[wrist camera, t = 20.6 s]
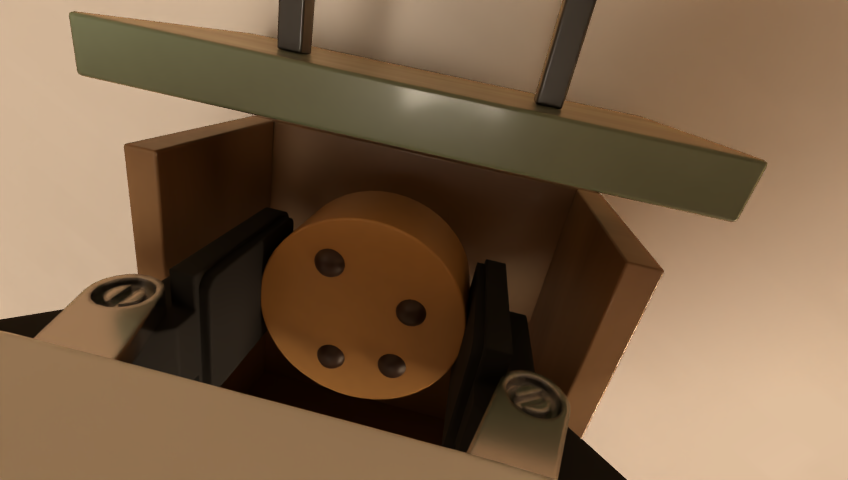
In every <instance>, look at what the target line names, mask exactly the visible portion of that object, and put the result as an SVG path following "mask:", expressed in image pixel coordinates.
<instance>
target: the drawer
mask: <svg viewBox="0 0 848 480" xmlns="http://www.w3.org/2000/svg"><path fill="white" fill-rule="evenodd" d="M596 1H597V0H562V3H561V7H560V10H559V14H558V17H557V21H556V24H555V28H554V31H553V35H552V38H551V42H550V45H549V49H548V52H547V56H546V59H545V63H544V66H543V70H542V73H541V77H540V80H539V84H538V87H537V91H536V94H534V93H529V92H524V91H519V90H515V89H510V88H505V87H501V86H496V85H491V84H487V83H482V82H477V81H472V80H468V79H463V78H458V77H454V76H449V75H444V74H440V73H435V72H430V71H426V70H421V69H416V68H411V67H407V66H402V65H397V64H393V63H388V62H383V61H379V60H374V59H369V58H364V57H360V56H355V55H350V54H346V53H341V52H336V51H332V50H327V49H322V48H317V47H313V46H311V45H312V31H313V16H314V2H315V0H279V16H278V39H275V38H270V37H266V36H261V35H256V34H251V33H243V32H235V31H227V30H219V29H211V28H203V27H195V26H187V25H179V24H171V23H163V22H155V21H147V20H139V19H131V18H124V17H116V16H108V15H100V14H92V13H84V12H76V11H74V12H70V13H69V19H70V26H71V32H72V39H73V46H74V53H75V60H76V66H77V71H78V73H79V74H80V75H82V76H86V77H90V78H95V79H99V80H104V81H108V82H112V83H117V84H121V85H126V86H130V87H135V88H139V89H143V90H148V91H152V92H157V93H161V94H166V95H170V96H175V97H179V98H183V99H188V100H192V101H197V102H201V103H206V104H210V105H214V106H219V107H223V108H228V109H232V110H237V111H241V112H245V113H250V114H254V115H256V116H251V117H246V118H242V119H237V120H232V121H228V122H223V123H219V124H214V125H209V126H205V127H200V128H196V129H191V130H187V131H182V132H177V133H173V134H168V135H164V136H159V137H155V138H150V139H145V140H141V141H136V142H132V143H127V144H125V145H124V152H125V161H126V170H127V179H128V188H129V197H130V206H131V215H132V224H133V232H134V241H135V250H136V259H137V268H138V274H142V275H148V276H152V277H155V278H157V279H159V280H160V281H162V280H164V279H165V278H167V277H168V276H170V273H169V269H170V268H172V267H173V266H175V265H177V264H178V263H180V262H181V261H183V260H184V259H186V258H188V257H189V256H191V255H192V254H194V253H195V252H197V251H198V250H200V249H202V248H203V247H205V246H206V245H208V244H209V243H211V242H212V241H214V240H216V239H217V238H219V237H220V236H222V235H223V234H225V233H227V232H228V231H230V230H231V229H233V228H234V227H236V226H237V225H239V224H241V223H242V222H244V221H245V220H247V219H248V218H250V217H252V216H253V215H255V214H256V213H258V212H259V211H261V210H262V209H264V208H266V207H269V208H273V209H277V210H281V211H285V212H287V213H288V216H289V218H292V219H293V221H294V227H293V231H295V230H296V229H297V228H298V227H299V226H301V225H302V224H303V223H304V222H305V221H306V220H308V219H309V218H310V217H311V216H312V215H313V214H315V213H316V212H317V211H318V210H319V209H321V208H322V207H323V206H325V205H326V204H328V203H329V202H331V201H333V200H335V199H337V198H339V197H342V196H344V195H347V194H351V193H356V192H362V191H384V192H390V193H396V194H399V195H402V196H406V197H408V198H411V199H413V200H415V201H418V202H420V203H421V204H423V205H425V206H426V207H428V208H430V209H431V210H432V211H434V212H435V213H436V214H437V215H439V216H440V217H441V218H442V219H443V220H444V221H445V222H446V223H447V224H448V225H449V226H450V228H451V229H452V230H453V231H454V233H455V234H456V235H457V237H458V239H459V241H460V242H461V244H462V246H463V249H464V251H465V253H466V256H467V260H468V264H469V269H470V287H471V283H472V279H473V276H474V272H475V268H476V265H477V263H478V262H479V263H483V264H484V263H485V260H486V259H488V260H492V261H497V262H501V263H505V264H506V272H507V285H508V297H509V310H510V311H511V312H515V313H519V314H523V315H526V317H527V322H528V329H529V336H530V343H531V350H532V356H533V363H534V370H535V373H537V374H540V375H542V376H544V377H546V378H548V379H550V380H551V381H552V382H554V383H555V384H556V385H557V386H558V387H560V389H561V390H562V391H563V392H564V393H565V395H566V396H567V398H568V401H569V403H570V412H571V413H570V418H569V423H568V427H569V428H570V429H571V430H572V431H573V432H575V433H576V434H577V435H578V436H579V437H580V438H581V439H582V437H583V435H584V433H585V431H586V429H587V427H588V425H589V423H590V421H591V419H592V417H593V415H594V413H595V411H596V409H597V407H598V405H599V403H600V401H601V399H602V397H603V395H604V393H605V391H606V389H607V387H608V385H609V383H610V380H611V378H612V376H613V374H614V372H615V370H616V368H617V366H618V364H619V362H620V360H621V358H622V356H623V354H624V352H625V350H626V348H627V346H628V344H629V342H630V340H631V338H632V336H633V334H634V332H635V330H636V328H637V326H638V324H639V322H640V320H641V318H642V316H643V314H644V312H645V310H646V307H647V305H648V303H649V301H650V299H651V297H652V295H653V293H654V291H655V289H656V287H657V285H658V283H659V281H660V279H661V277H662V275H663V273H664V270H663V269H662V268H661V266H660V265H659V264H658V263H657V262H656V260H655V259H654V258H653V257H652V256H651V254H650V253H649V252H648V251H647V250H646V248H645V247H644V246H643V245H642V244H641V242H640V241H639V240H638V239H637V238H636V236H635V235H634V234H633V233H632V232H631V230H630V229H629V228H628V227H627V225H626V224H625V223H624V222H623V221H622V219H621V218H620V217H619V216H618V215H617V213H616V212H615V211H614V210H613V209H612V207H611V206H610V205H609V204H608V203H607V201H606V200H605V199H604V198H603V197H602V195H601V194H600V193H605V194H609V195H614V196H618V197H622V198H627V199H631V200H636V201H640V202H645V203H649V204H653V205H658V206H662V207H667V208H671V209H676V210H680V211H685V212H689V213H693V214H698V215H702V216H707V217H711V218H716V219H720V220H724V221H729V222H736V221H737V220H738V218H739V217H740V215H741V213H742V211H743V209H744V207H745V205H746V204H747V202H748V200H749V198H750V196H751V194H752V193H753V191H754V189H755V187H756V185H757V183H758V182H759V180H760V178H761V176H762V174H763V172H764V171H765V169H766V167H767V162H766V161H765V160H763V159H760V158H757V157H754V156H752V155H749V154H746V153H743V152H740V151H737V150H735V149H732V148H729V147H726V146H723V145H720V144H718V143H715V142H712V141H709V140H706V139H704V138H701V137H698V136H695V135H692V134H689V133H687V132H684V131H681V130H678V129H675V128H672V127H670V126H667V125H664V124H661V123H658V122H656V121H653V120H650V119H647V118H644V117H641V116H637V115H632V114H628V113H623V112H618V111H613V110H609V109H604V108H599V107H595V106H590V105H585V104H581V103H576V102H571V101H566V100H565V98H566V95H567V92H568V89H569V86H570V83H571V80H572V76H573V73H574V70H575V67H576V64H577V61H578V57H579V54H580V51H581V48H582V45H583V42H584V38H585V35H586V32H587V29H588V26H589V23H590V20H591V16H592V13H593V10H594V7H595V4H596ZM599 192H600V193H599ZM450 374H451V368H450V369H449V370H448V371H447V372H446V373H445V374H444V375H443V376H442V377H441V378H440V379H439V380H438V381H436V382H435V383H433V384H432V385H430V386H429V387H427V388H425V389H423V390H421V391H419V392H416V393H413V394H411V395H408V396H403V397H399V398H392V399H365V398H358V397H353V396H348V395H345V394H342V393H339V392H336V391H333V390H331V389H329V388H326V387H324V386H322V385H320V384H319V383H317V382H315V381H313V380H312V379H310V378H309V377H307V376H306V375H304V374H303V373H302V372H301V371H299V370H298V369H297V368H296V367H295V366H293V365H292V364H291V363H290V361H289V360H288V359H287V358H286V357H285V356H284V355H283V354H282V352H281V351H280V350H279V349H278V347H277V346H276V344H275V342H274V341H273V339H272V338H271V336H270V333H269V331H268V330H267V331H266V333H265V334H264V335H263V336H262V337H261V339H260V340H259V341H258V342H257V343H256V345H255V346H254V347H253V348H252V349H251V351H250V352H249V353H248V354H247V355H246V357H245V358H244V359H243V360H242V361H241V363H240V364H239V365H238V366H237V367H236V369H235V370H234V371H233V372H232V373H231V375H230V376H229V377H228V378H227V379H226V381H225V382H224V383H223V384H222V385H221V388H224V389H228V390H232V391H236V392H240V393H243V394H247V395H251V396H255V397H258V398H262V399H266V400H270V401H274V402H277V403H281V404H285V405H289V406H293V407H296V408H300V409H304V410H308V411H312V412H315V413H319V414H323V415H327V416H331V417H334V418H338V419H342V420H346V421H349V422H353V423H357V424H361V425H365V426H368V427H372V428H376V429H379V430H383V431H387V432H391V433H394V434H398V435H402V436H405V437H409V438H413V439H416V440H420V441H424V442H428V443H431V444H435V445H439V446H441V445H442V437H443V429H444V421H445V413H446V405H447V398H448V390H449V382H450Z"/></svg>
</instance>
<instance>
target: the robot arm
mask: <svg viewBox="0 0 848 480" xmlns="http://www.w3.org/2000/svg"><path fill="white" fill-rule="evenodd" d="M293 227H294V221H293V219H292V218H289V216H288V213H287V212H285V211H281V210H277V209H273V208H269V207H266V208H264V209H262V210H261V211H259V212H258V213H256V214H255V215H253V216H252V217H250V218H248V219H247V220H245V221H244V222H242V223H241V224H239V225H237V226H236V227H234V228H233V229H231V230H230V231H228V232H227V233H225V234H223V235H222V236H220V237H219V238H217V239H216V240H214V241H212V242H211V243H209V244H208V245H206V246H205V247H203V248H202V249H200V250H198V251H197V252H195V253H194V254H192V255H191V256H189V257H188V258H186V259H184V260H183V261H181V262H180V263H178V264H177V265H175V266H173V267H172V268H170V269H169V273H170V276H168V277H167V278H165V279H164V280H162V281H160V280H159V279H157V278H155V277H152V276H148V275H142V274H125V275H118V276H113V277H109V278H105V279H102V280H100V281H98V282H95V283H93V284H92V285H90V286H89V287H87V288H86V289H85V290H84V291H83V292H82V293H81V294H80V295H78V296H77V297H76V298H75V299H74V300H73V301H72V302H71V303H70V304H69V305H68V306H67V307H66V308H65V309H63V310H57V311H51V312H45V313H38V314H32V315H26V316H20V317H14V318H7V319H1V320H0V480H627V479H625V478H624V477H623V476H622V475H621V474H620V473H619V472H618V471H617V470H615V469H614V468H613V467H612V466H611V465H610V464H609V463H608V462H607V461H606V460H604V459H603V458H602V457H601V456H600V455H599V454H598V453H597V452H596V451H594V450H593V449H592V448H591V447H590V446H589V445H588V444H587V443H586V442H585V441H583V440H582V439H581V438H580V437H579V436H578V435H577V434H576V433H575V432H573V431H572V430H571V429H570V428H569V427H568V423H569V418H570V413H571V412H570V403H569V401H568V398H567V396H566V395H565V393H564V392H563V391H562V390H561V389H560V387H558V386H557V385H556V384H555V383H554V382H552V381H551V380H550V379H548V378H546V377H544V376H542V375H540V374H537V373H535V370H534V363H533V356H532V350H531V343H530V336H529V329H528V322H527V317H526V315H523V314H519V313H515V312H511V311H510V310H509V297H508V285H507V272H506V264H505V263H501V262H497V261H492V260H488V259H486V260H485V263H484V264H483V263H479V262H478V263H477V265H476V268H475V272H474V276H473V279H472V283H471V287H470V290H469V301H468V312H467V323H466V329H465V332H464V336H463V339H462V343H461V346H460V350H459V353H458V357H457V359H456V361H455V362H454V364H453V365H452V366H451V374H450V382H449V390H448V398H447V405H446V413H445V421H444V429H443V437H442V445H441V446H439V445H435V444H431V443H428V442H424V441H420V440H416V439H413V438H409V437H405V436H402V435H398V434H394V433H391V432H387V431H383V430H379V429H376V428H372V427H368V426H365V425H361V424H357V423H353V422H349V421H346V420H342V419H338V418H334V417H331V416H327V415H323V414H319V413H315V412H312V411H308V410H304V409H300V408H296V407H293V406H289V405H285V404H281V403H277V402H274V401H270V400H266V399H262V398H258V397H255V396H251V395H247V394H243V393H240V392H236V391H232V390H228V389H224V388H221V385H222V384H223V383H224V382H225V381H226V379H227V378H228V377H229V376H230V375H231V373H232V372H233V371H234V370H235V369H236V367H237V366H238V365H239V364H240V363H241V361H242V360H243V359H244V358H245V357H246V355H247V354H248V353H249V352H250V351H251V349H252V348H253V347H254V346H255V345H256V343H257V342H258V341H259V340H260V339H261V337H262V336H263V335H264V334H265V333H266V331H267V330H268V329H267V327H266V324H265V321H264V318H263V315H262V309H261V285H262V276H263V272H264V269H265V266H266V264H267V262H268V260H269V258H270V256H271V255H272V253H273V252H274V250H275V249H276V248H277V247H278V245H279V244H280V243H281V242H282V241H283V240H284V239H285V238H286V237H288V236H289V235H290V234H291V233H292V232H293Z"/></svg>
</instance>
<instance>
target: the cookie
mask: <svg viewBox="0 0 848 480" xmlns="http://www.w3.org/2000/svg"><path fill="white" fill-rule="evenodd" d="M469 290H470V269H469V264H468V260H467V256H466V253H465V251H464V249H463V246H462V244H461V242H460V241H459V239H458V237H457V235H456V234H455V233H454V231H453V230H452V229H451V228H450V226H449V225H448V224H447V223H446V222H445V221H444V220H443V219H442V218H441V217H440V216H439V215H437V214H436V213H435V212H434V211H432V210H431V209H430V208H428V207H426V206H425V205H423V204H421V203H420V202H418V201H415V200H413V199H411V198H408V197H406V196H402V195H399V194H396V193H390V192H384V191H362V192H356V193H351V194H347V195H344V196H342V197H339V198H337V199H335V200H333V201H331V202H329V203H328V204H326V205H325V206H323V207H322V208H321V209H319V210H318V211H317V212H316V213H315V214H313V215H312V216H311V217H310V218H309V219H308V220H306V221H305V222H304V223H303V224H302V225H301V226H299V227H298V228H297V229H296V230H295V231H293V232H292V233H291V234H290V235H289V236H288V237H286V238H285V239H284V240H283V241H282V242H281V243H280V244H279V245H278V247H277V248H276V249H275V250H274V252H273V253H272V255H271V256H270V258H269V260H268V262H267V264H266V266H265V269H264V272H263V276H262V285H261V309H262V315H263V318H264V321H265V324H266V327H267V329H268V331H269V333H270V336H271V338H272V339H273V341H274V342H275V344H276V346H277V347H278V349H279V350H280V351H281V352H282V354H283V355H284V356H285V357H286V358H287V359H288V360H289V361H290V363H291V364H292V365H293V366H295V367H296V368H297V369H298V370H299V371H301V372H302V373H303V374H304V375H306V376H307V377H309V378H310V379H312V380H313V381H315V382H317V383H319V384H320V385H322V386H324V387H326V388H329V389H331V390H333V391H336V392H339V393H342V394H345V395H348V396H353V397H358V398H365V399H392V398H399V397H403V396H408V395H411V394H413V393H416V392H419V391H421V390H423V389H425V388H427V387H429V386H430V385H432V384H433V383H435V382H436V381H438V380H439V379H440V378H441V377H442V376H443V375H444V374H445V373H446V372H447V371H448V370H449V369H450V368H451V366H452V365H453V364H454V362H455V361H456V359H457V357H458V353H459V350H460V346H461V343H462V339H463V336H464V332H465V329H466V323H467V312H468V301H469Z"/></svg>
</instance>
